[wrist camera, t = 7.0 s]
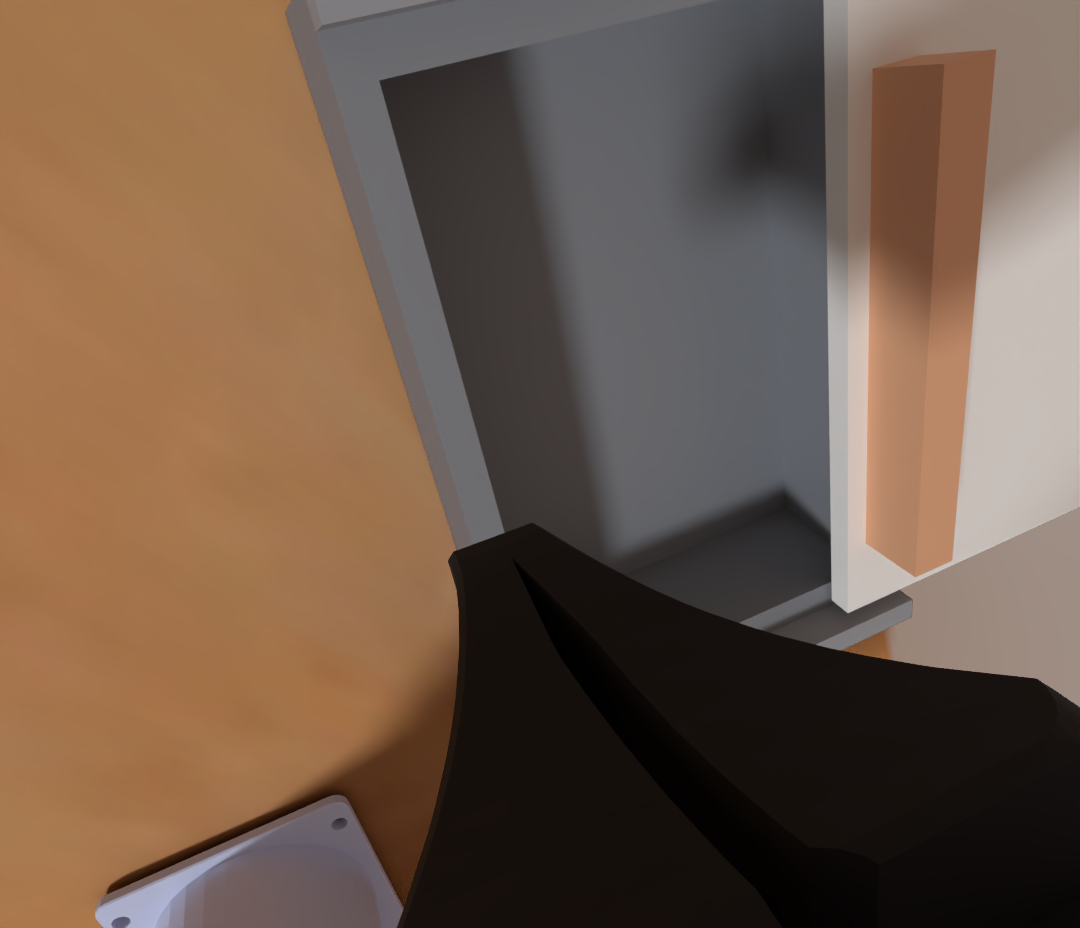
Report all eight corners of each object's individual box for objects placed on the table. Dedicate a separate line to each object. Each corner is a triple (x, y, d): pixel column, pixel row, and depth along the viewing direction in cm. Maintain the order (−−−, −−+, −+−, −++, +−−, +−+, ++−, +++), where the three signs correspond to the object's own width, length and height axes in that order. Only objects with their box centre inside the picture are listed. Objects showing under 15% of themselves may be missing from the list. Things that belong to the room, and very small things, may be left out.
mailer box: (794, 529, 27) (911, 617, 23) (491, 657, 25) (551, 786, 20) (768, -89, 18) (954, -159, 14) (285, 12, 16) (306, -29, 11)
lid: (1130, 465, 25) (1212, 498, 23) (831, 600, 22) (893, 651, 20) (1264, -156, 17) (1411, -193, 15) (822, -55, 14) (923, -83, 12)
